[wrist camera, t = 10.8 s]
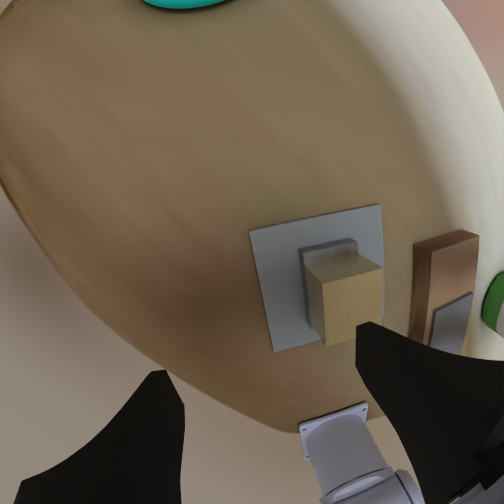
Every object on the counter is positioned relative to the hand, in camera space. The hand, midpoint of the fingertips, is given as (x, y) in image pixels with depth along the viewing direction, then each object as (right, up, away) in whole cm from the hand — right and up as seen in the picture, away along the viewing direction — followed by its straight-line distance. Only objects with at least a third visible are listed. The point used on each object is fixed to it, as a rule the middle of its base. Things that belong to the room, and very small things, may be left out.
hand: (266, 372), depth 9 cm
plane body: (+18, -3, +14) cm, 23 cm away
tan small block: (+5, +2, +10) cm, 12 cm away
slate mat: (+5, +2, +11) cm, 12 cm away
